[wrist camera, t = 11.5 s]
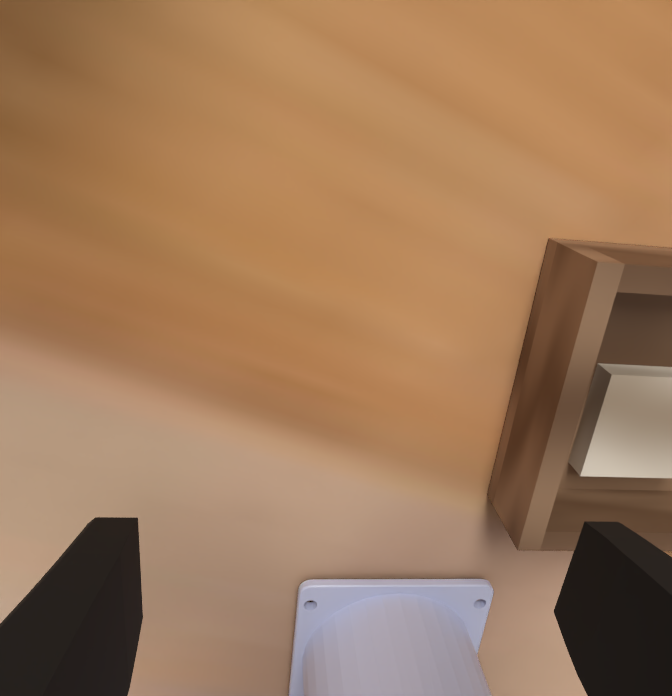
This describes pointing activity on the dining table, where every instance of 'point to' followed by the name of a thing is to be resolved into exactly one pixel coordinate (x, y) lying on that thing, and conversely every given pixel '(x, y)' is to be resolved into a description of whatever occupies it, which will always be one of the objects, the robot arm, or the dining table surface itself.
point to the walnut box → (591, 400)
